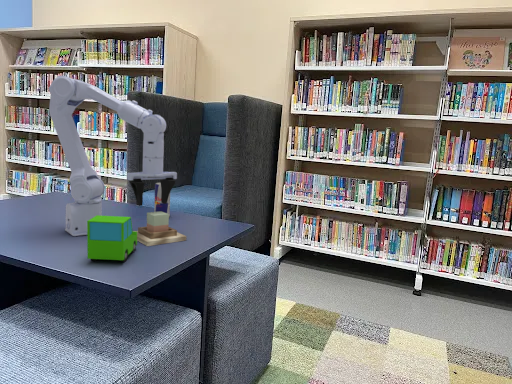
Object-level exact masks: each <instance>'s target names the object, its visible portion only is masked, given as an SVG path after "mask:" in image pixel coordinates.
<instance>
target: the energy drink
mask: <svg viewBox="0 0 512 384" xmlns="http://www.w3.org/2000/svg"><path fill="white" fill-rule="evenodd" d="M153 207H154V208H153V209H154V211H153V212H159V211H162V212H164V213H167V214H169V218H170V216H171V214H170V213H171V193H170V194H169V197H168V200H167V204H164V203H162V202H161V182H156V183H155V184H154V206H153Z"/></svg>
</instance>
